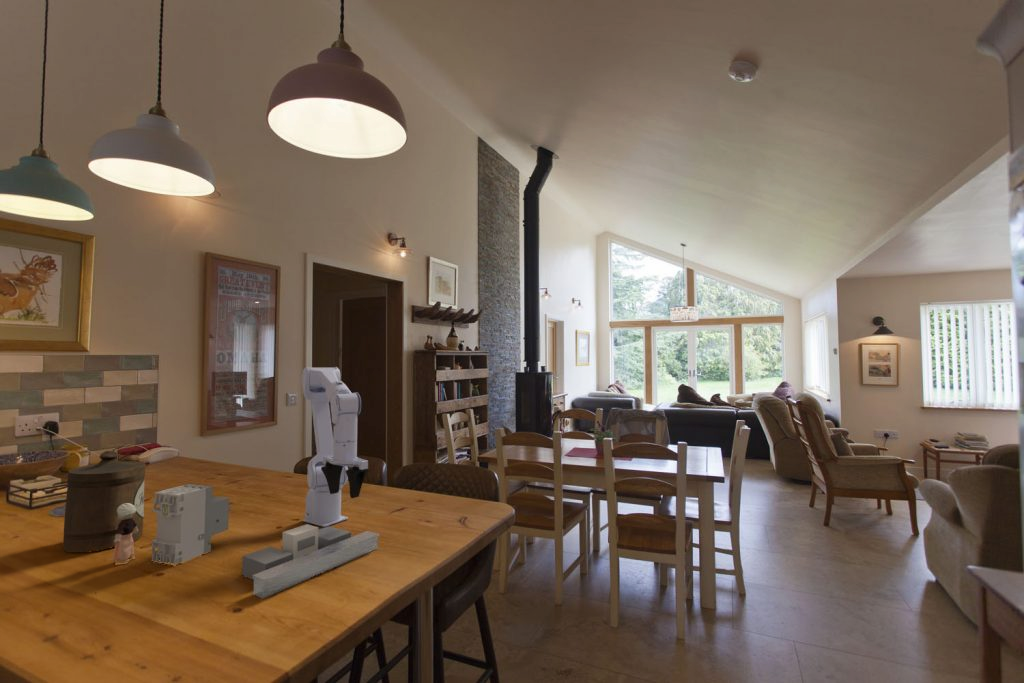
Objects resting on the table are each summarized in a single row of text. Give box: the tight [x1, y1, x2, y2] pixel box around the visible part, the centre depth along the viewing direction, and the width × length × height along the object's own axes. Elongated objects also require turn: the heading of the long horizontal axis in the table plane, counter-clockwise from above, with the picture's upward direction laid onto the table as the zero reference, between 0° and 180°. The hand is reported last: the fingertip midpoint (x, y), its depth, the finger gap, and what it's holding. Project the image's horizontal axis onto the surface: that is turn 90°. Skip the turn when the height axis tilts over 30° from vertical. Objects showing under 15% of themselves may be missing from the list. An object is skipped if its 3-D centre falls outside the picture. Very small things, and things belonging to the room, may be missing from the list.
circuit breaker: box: [150, 483, 231, 565], centre depth 110 cm, size 8×14×15 cm, turn 161°
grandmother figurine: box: [112, 503, 138, 563], centre depth 104 cm, size 8×4×13 cm, turn 23°
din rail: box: [252, 530, 380, 600], centre depth 100 cm, size 4×28×4 cm, turn 149°
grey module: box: [281, 523, 319, 559], centre depth 104 cm, size 4×6×7 cm
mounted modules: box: [241, 525, 352, 581], centre depth 104 cm, size 8×21×4 cm, turn 149°
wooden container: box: [62, 450, 146, 553], centre depth 117 cm, size 15×15×22 cm
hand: (344, 495), depth 119 cm, fingers open, 7 cm apart
